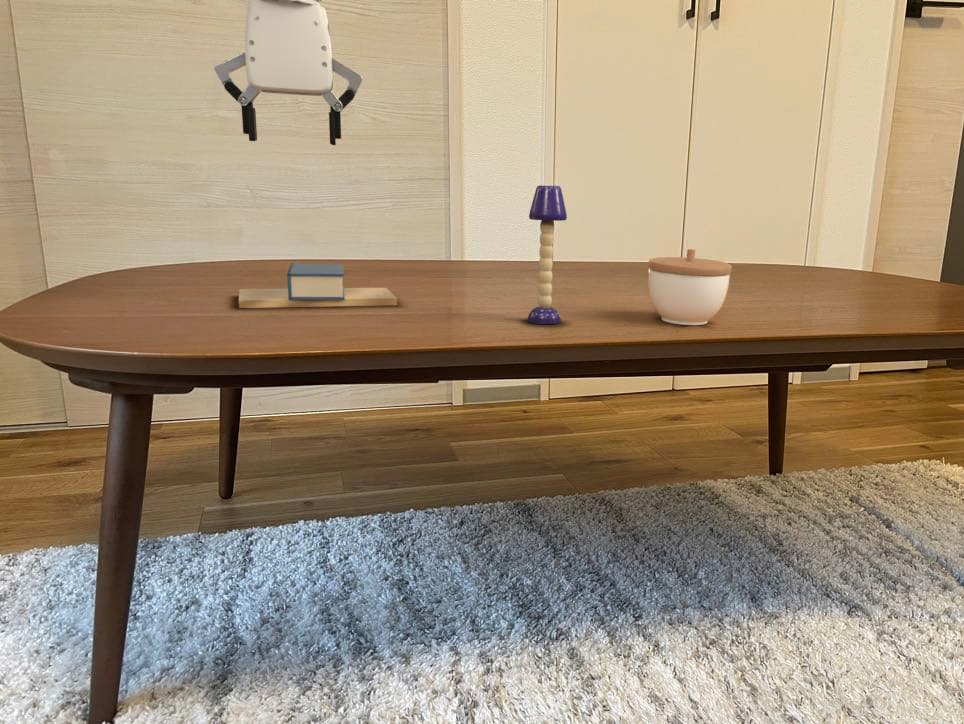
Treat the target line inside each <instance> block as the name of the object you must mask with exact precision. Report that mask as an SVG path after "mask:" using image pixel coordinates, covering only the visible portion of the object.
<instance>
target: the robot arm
mask: <svg viewBox="0 0 964 724" xmlns="http://www.w3.org/2000/svg"><path fill="white" fill-rule="evenodd" d="M321 1H322V0H248V2H247V8H246V17H245V29H244V30H245V31H244V32H245V33H244V34H245V35H244V36H245V37H244V50H245V51H243V52H241V53H239V54H237V55H235V56H233V57H230V58H228V59H226V60H224V61H222V62H220V63H218V64H216V65H214V67H213V68H214V72H215V74H216V75H217V77H218V79H219V81H220V82H221V85H222V86H223V87H224V90H225V91H226V93H228V94H229V96H231V97H232V98H233V99H234V100H235V101H236V102H237V103H238V105H240V106H241V107H240V108H241V119H242V133H243V135H248V141H249V142H256V141H258V132H257V131H258V130H257V128H258V127H257V113H256V112H257V111H256V108H255V107H254V101H255V100H256V98H257V97H258V96H259V95H260V94H261V93H267V94H279V95H293V96H294V95H296V96H297V95H298V96H310V97H311V96H312V97H314V96H316V97H320V96H321V97H322V98H323V99H324V101H326V103H327V104H328V106H330V107H329V110H330V111H328V127H329V145H331V146H336V145H337V142H336V141H337V140H341V139H342V124H341V123H342V121H341V118H342V116H341V112H342V111H344V109H345V108H346V107H347V106H349V104H350V103H351V102H352V101H353V100H354V99H355V96H356V94H357V92H358V90H359V88H360V87H361V84H362V83H363V77H362V75H360V73H357V72H355V71H354V70H352V69H350V68H349V67H347V66H346V65H344V64H343V63H341V62H340V61H337V60H336V59H334V58H333V53H332V41H331V33H330V26H329V20H328V15H327V11H326V9H325V7H323V6H321V5H320V2H321ZM243 67H245V76H246V80H247V84H248V85H247V86H246V87H245V89H244V90H243V91H242V90H241V89H240V88H239V87H238V86H237V85H236V84H235V82H234V81H233V78H232V75H231V74H232V72H235V71H237V70H239V69H241V68H243ZM334 73H335V74H337V76H340V77H342V78H343V79H345V80H346V81H347V82H348V85H347V87H346V90H345V91H344V92H343V93H342V94H341V95H340V96H339V97H337V96H336V94H335V93H334V92H333V86H334Z"/></svg>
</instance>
